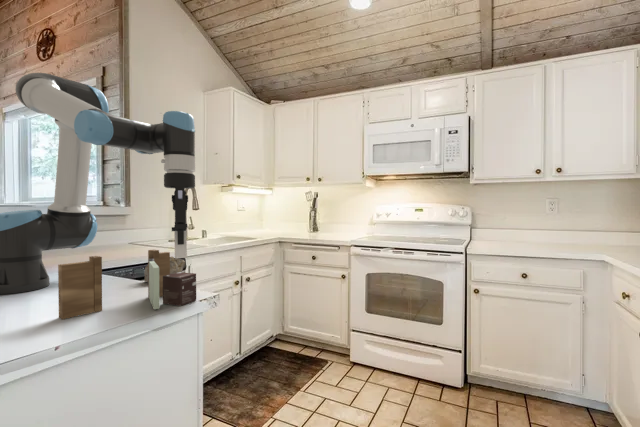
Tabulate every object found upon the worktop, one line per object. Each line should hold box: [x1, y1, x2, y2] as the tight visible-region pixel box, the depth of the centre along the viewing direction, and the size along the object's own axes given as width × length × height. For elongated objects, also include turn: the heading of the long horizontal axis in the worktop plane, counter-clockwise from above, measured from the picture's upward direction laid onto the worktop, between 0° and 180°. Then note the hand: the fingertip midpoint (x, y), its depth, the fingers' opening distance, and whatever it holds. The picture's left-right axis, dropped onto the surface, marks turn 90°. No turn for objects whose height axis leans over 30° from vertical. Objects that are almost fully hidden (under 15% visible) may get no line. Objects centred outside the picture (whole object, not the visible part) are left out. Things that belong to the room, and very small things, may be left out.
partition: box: [57, 249, 171, 320], centre depth 87 cm, size 3×26×13 cm, turn 147°
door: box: [148, 259, 160, 310], centre depth 88 cm, size 12×1×11 cm, turn 32°
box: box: [162, 271, 197, 307], centre depth 90 cm, size 6×6×7 cm
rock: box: [143, 256, 186, 283], centre depth 115 cm, size 12×7×10 cm, turn 128°
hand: (180, 254), depth 90 cm, fingers open, 13 cm apart
